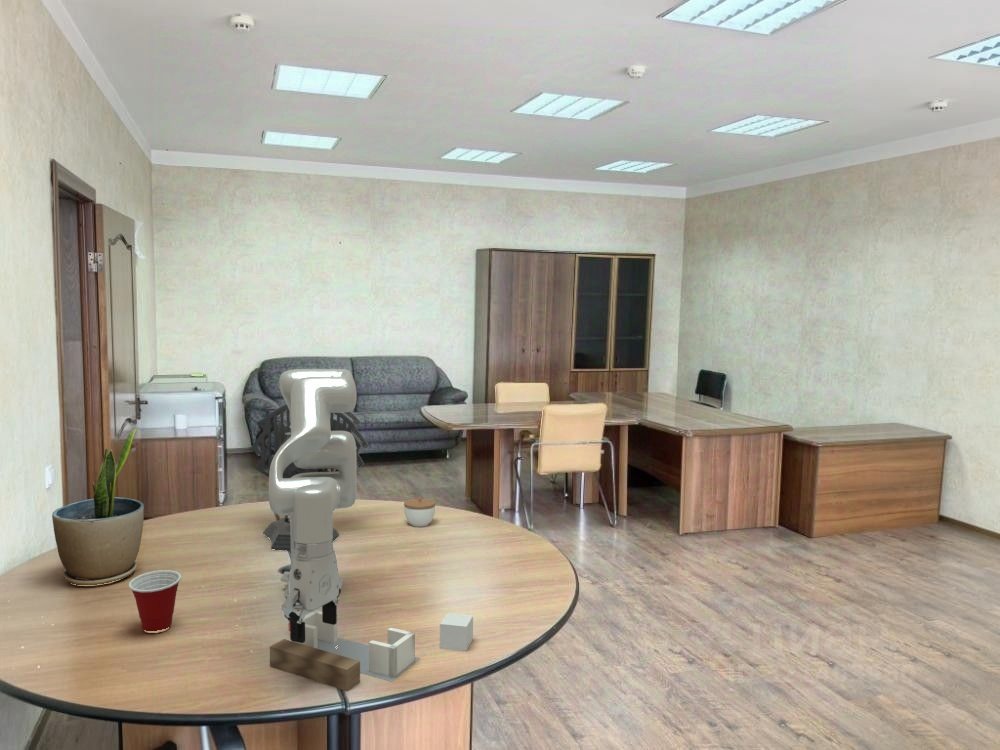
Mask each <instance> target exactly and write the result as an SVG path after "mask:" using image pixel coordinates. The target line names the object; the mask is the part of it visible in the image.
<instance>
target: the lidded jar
mask: <svg viewBox="0 0 1000 750" xmlns="http://www.w3.org/2000/svg"><path fill="white" fill-rule="evenodd" d="M403 505H404V508H403V509H404V516H405V519H406V521H407V522H408V523H409V524H410V525H411V526H412V527H416V528H417V527H419V528H421V527H427V526H429V524H430V523H431V522H432V520H433V519H434V517H435V513H436V501H435V500H433V499H431V498H422V497H421V496H419V497H418V498H411V499H407V500H405V501H404V503H403Z"/></svg>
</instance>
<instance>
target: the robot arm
mask: <svg viewBox="0 0 1000 750" xmlns="http://www.w3.org/2000/svg"><path fill="white" fill-rule="evenodd" d="M278 380H279V381H278V383H279V389H280V392H281V396H282V398H283V400H284V402H285V405H286V404H287V406H288V408H289V415H290V422H291V437H290V438H289V439H288V440H287V441H286V442H285V443H284V444H283V445H282V446H281V447H280V448H279V450H278V451H277V452H276V454H275V455H273V457H272V459H271V466H270V471H269V470H268V472H269V477H268V503H269V507H270V510H271V511H272V513H274V514H275V515H278V516H285V515H288V516H289V518H290V531H291V551H290V570H291V580H290V596H289V578H290V571H288V570H286V571H284V572H283V574H282V576H281V577H280V581H281V582H283V583H287V587H286V588H285V590H284V595H285V597H286V599H285V600H284V602H282V604H281V610H282V612H283V614H284V615H283V616H284V618H286V619H287V622H288V623H289V622H290V631H289V639H290V641H295V642H299V643H304V642H305V622H303V619H304V617H305V615H306V612H307V611H314V610H316V609H318V608H319V607H321V606H322V621H323V622H324V623H328V624H332V625H335V624H336V623H337V624H338V614H337V612H338V611H337V610H338V608H337V605H338V604H339V597H340V594H341V592H342V586H343V582H344V579H343V578H342V577H339V567H338V560H337V554H336V552H335V550H334V545H333V543H334V542H333V528H334V522H333V521H334V519H333V518H334V517H333V516H334V515H333V514H334V513H333V512H334V511H335V510H336V509H337V510H338V509H348V508H350V507H352V506H354V504H355V503H356V499H357V493H358V492H357V488H358V487H357V484H358V482H357V478H358V476H357V473H358V472H357V465H358V464H357V463H358V461H357V458H356V450H357V446H356V443H355V439H354V437H353V435H352V434H353V433H352V434H351V433H350V432H347V431H331V428H330V418H331V415H330V413H333V414H334V413H342V412H351V413H352V411H354V409H355V408H356V404H357V394H358V393H357V386H356V382H355V380H354V375H352V372H351V371H350V370H348V369H343V368H294V369H289V370H285V371H283V372H282V373H281V374H280V376H279V379H278ZM292 462H294V464H295V465H296V466H297V467H298V468H302V469H325V468H328V469H331V468H334V469H335V470H336V469H338V470H339V471H337V472H335V471H334V472H331V471H330V472H309V473H300V474H297V475H294V476H292V477H291V478H283V472H284V470H285V468H286V467H287V466H288V465H289V464H291V463H292ZM301 605H302V606H301ZM297 610H301V611H300V614H299V616H298V615H297V614H296V613H297Z"/></svg>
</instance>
